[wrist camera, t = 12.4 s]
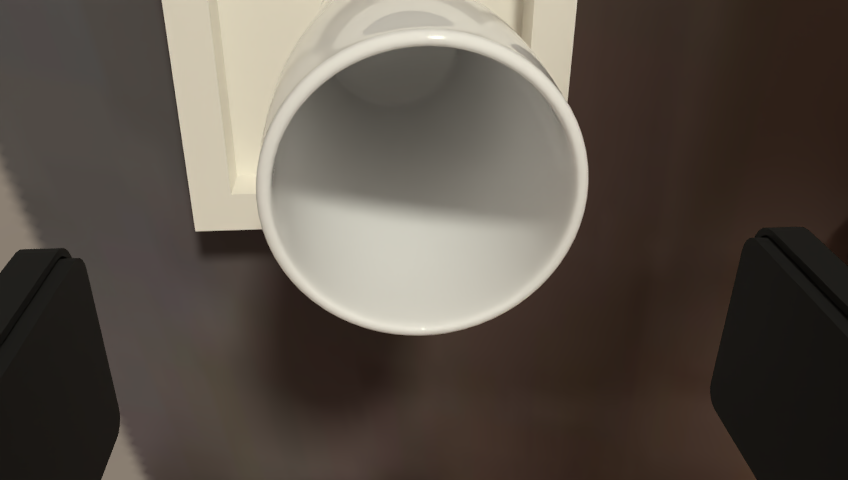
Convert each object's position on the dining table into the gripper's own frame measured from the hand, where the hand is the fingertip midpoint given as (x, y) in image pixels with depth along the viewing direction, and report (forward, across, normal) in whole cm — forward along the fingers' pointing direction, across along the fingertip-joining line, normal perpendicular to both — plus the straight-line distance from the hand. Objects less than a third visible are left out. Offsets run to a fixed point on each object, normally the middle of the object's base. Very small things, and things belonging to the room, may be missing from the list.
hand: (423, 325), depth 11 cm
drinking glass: (+20, 0, 0) cm, 20 cm away
